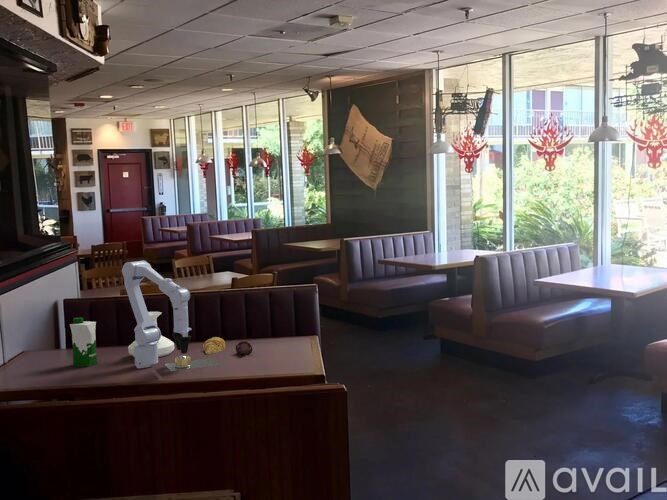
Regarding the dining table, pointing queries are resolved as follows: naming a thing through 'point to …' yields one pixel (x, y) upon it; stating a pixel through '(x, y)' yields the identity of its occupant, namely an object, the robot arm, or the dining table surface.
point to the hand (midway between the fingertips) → (182, 351)
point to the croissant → (214, 345)
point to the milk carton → (83, 342)
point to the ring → (183, 361)
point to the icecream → (244, 348)
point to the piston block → (193, 364)
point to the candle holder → (163, 344)
